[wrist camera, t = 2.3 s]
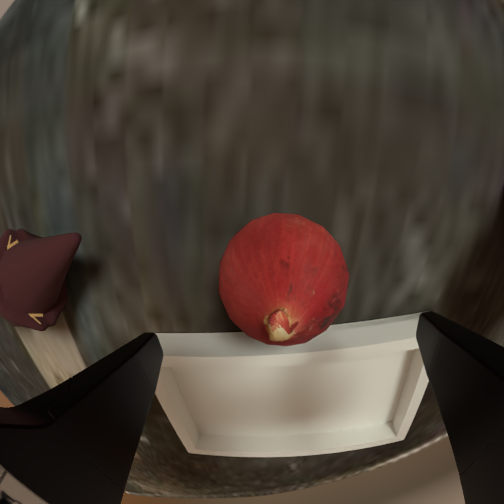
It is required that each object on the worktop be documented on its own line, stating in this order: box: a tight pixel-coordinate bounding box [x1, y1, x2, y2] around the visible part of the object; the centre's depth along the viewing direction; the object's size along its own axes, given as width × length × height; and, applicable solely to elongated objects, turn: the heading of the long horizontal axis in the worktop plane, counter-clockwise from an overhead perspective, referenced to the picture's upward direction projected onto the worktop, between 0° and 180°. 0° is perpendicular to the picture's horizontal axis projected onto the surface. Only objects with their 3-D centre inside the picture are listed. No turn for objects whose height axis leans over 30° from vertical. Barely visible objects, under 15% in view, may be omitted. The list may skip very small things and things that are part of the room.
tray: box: [155, 311, 429, 457], centre depth 20 cm, size 20×13×2 cm, turn 97°
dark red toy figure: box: [0, 229, 81, 331], centre depth 15 cm, size 7×7×15 cm
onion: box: [219, 213, 349, 346], centre depth 13 cm, size 6×6×8 cm
